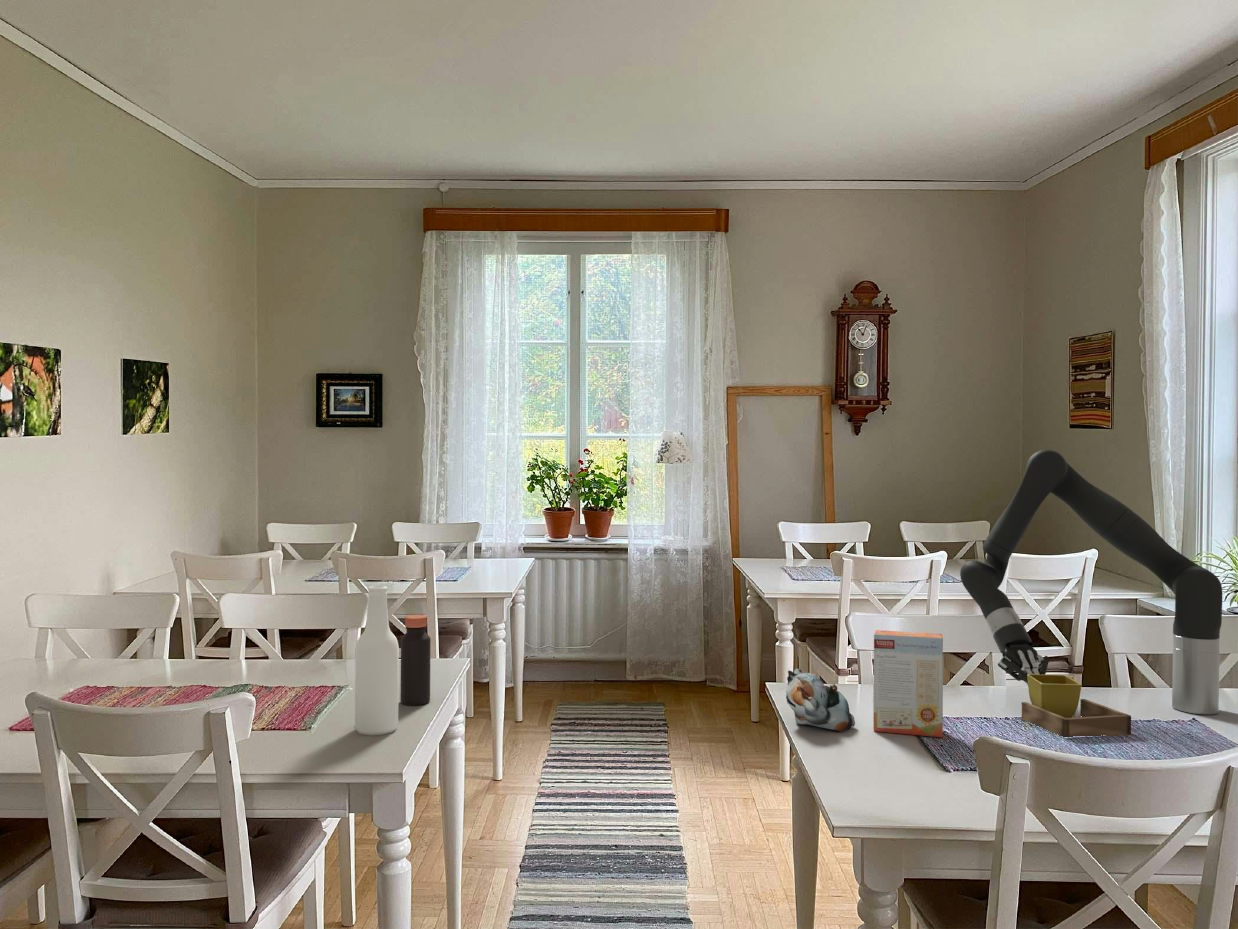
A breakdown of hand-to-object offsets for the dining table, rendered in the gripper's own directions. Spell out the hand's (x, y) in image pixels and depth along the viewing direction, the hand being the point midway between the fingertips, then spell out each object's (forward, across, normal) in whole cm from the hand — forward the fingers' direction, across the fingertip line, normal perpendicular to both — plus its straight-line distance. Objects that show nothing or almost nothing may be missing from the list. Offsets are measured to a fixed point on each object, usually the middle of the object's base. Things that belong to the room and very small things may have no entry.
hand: (1040, 694), depth 211 cm
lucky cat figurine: (+3, -54, +3) cm, 54 cm away
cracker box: (+9, -38, -2) cm, 39 cm away
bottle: (-21, -140, +28) cm, 144 cm away
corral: (+10, 0, -4) cm, 11 cm away
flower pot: (+7, 0, 0) cm, 7 cm away
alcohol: (-6, -148, +13) cm, 148 cm away
